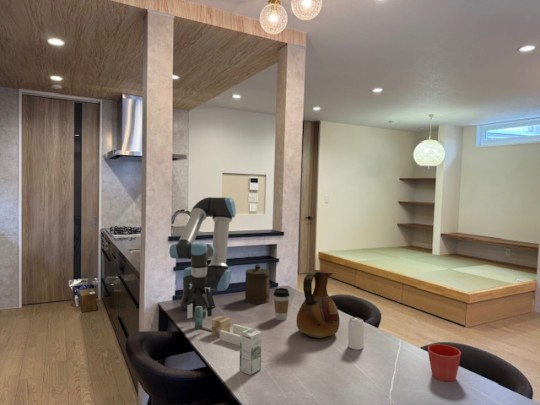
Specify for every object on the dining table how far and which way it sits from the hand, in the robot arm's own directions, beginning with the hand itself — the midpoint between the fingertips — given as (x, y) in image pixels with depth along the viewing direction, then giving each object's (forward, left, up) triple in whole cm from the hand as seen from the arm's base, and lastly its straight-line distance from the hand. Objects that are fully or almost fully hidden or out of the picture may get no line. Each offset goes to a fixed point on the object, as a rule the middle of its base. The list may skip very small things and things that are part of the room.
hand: (198, 320), depth 176 cm
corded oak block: (+8, 0, -4) cm, 8 cm away
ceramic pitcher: (+51, +26, -4) cm, 57 cm away
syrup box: (+46, -20, -4) cm, 50 cm away
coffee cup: (+26, +34, -4) cm, 43 cm away
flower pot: (+106, +16, -4) cm, 107 cm away
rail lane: (+25, 0, -4) cm, 25 cm away
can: (+71, +22, -4) cm, 74 cm away
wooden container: (-3, +53, -4) cm, 53 cm away
